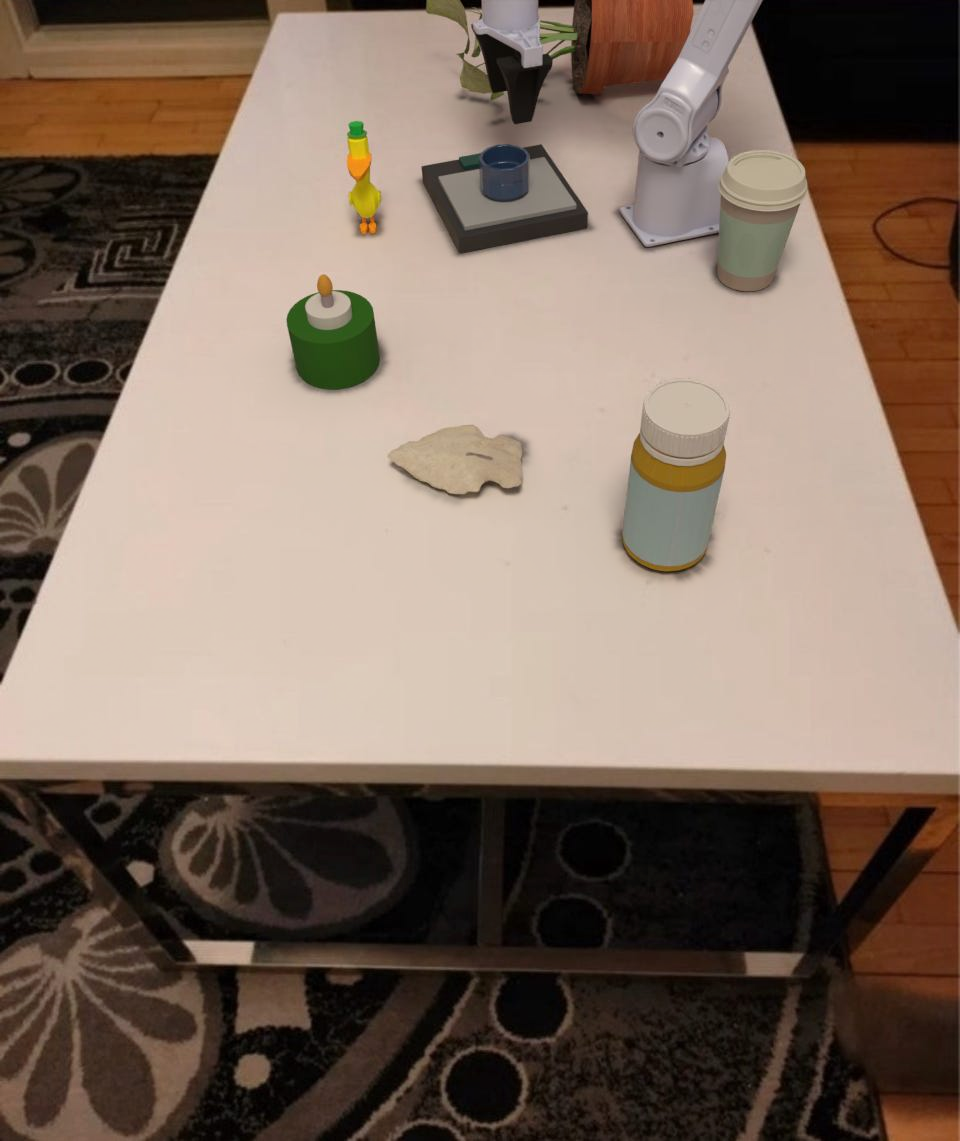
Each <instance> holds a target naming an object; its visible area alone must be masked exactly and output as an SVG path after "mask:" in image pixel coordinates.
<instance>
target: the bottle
mask: <svg viewBox="0 0 960 1141" xmlns="http://www.w3.org/2000/svg"><path fill="white" fill-rule="evenodd" d="M730 417H731V406H730V402H729V400H728V398H727V397H726V395H725V394H724V393H723V392H722V391H721V390H720V389H718V388H717V387H716V386H714V385H713V384H711V383H708V382H706V381H703V380H700V379H694V378H689V377H688V378H687V377H686V378H684V377H683V378H671V379H667V380H663V381H662V382H659V383H657V384H656V385H654V386H652V387H651V389H649V390H648V392H647V393H646V395H645V397H644V399H643V403H642V410H641V418H640V428H639V429H640V430H639V433H638V434H637V436H636V438H635V439H634V441H633V444H632V448H631V454H630V461H629V471H628V480H627V486H626V495H625V497H626V498H625V504H624V514H623V522H622V532H621V533H622V535H621V536H622V537H621V538H622V543H623V547H624V549H625V550H626V552H627V553H628V555H629V556H630V557H631V558H632V559H633V560H635V561H636V562H637V563H638V564H640V565H642V566H644V567H646V568H649V569H651V570H654V571H659V572H676V571H677V572H678V571H682V570H684V569H685V570H686V569H687V568H690V567H692V566H694V565H695V564H697V563H698V562H699V561H701V560H702V558H703V557H704V555H705V554H706V552H707V550H708V546H709V544H710V543H709V542H710V538H711V533H712V530H713V529H712V528H713V525H714V520H715V515H716V510H717V505H718V501H719V497H720V493H721V489H722V488H721V487H722V482H723V478H724V474H725V469H726V463H727V462H726V460H727V451H726V448H725V440H726V435H727V431H728V427H729V421H730Z"/></svg>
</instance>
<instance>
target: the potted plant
mask: <svg viewBox="0 0 960 1141" xmlns="http://www.w3.org/2000/svg"><path fill="white" fill-rule="evenodd" d="M425 5H426V6H425V12H426V14H428V15H433V16H439V17H443V18H446V19H449V20H451V21H453V22H456V23H457V24H459V26H460V27H461V28H462V29H463V30H464V31H465V34H466V36H467V42H466V46H465V49H464V51H463V52H460V53H455V55H456V56H458V57H459V58H460V59H461V60H462V70H461V71H460V72H461V73H460V75H459V81H460V86H461V88H463V89H466V90H468V91H469V92H472V93H479V94H480V93H481V94H490V98H489V99H490V101H494V100H496V99H498V98H501V97H503V96H505V91H504V92H498V93H493V92H492V91H491V88H490V84H489V80H488V76H487V72H484V71H483V70H481V69H480V68H479V67H480V66H483V65H485V62H483V63H480V64H478V65H476V66H475V65H473V64H472V63H471V62H468V61H467V60H466V59H465V55H468V54H469V51H470V46H471V41H470V40H471V39H470V35H469V28H468V19H467V13H466V12H467V11H468V12H471V13H473V14H478V15H479V18H478V20H480V19H482V11H480V10H479V9H478V8H477V7H474V6H471V8H472V9H475V10H476V11H473V10H468V9H465V6H464V5H463V3H462V1H461V0H426V4H425ZM573 6H574V7H573V14H572V24H571V25H570V24H563V23H560V22H556V21H550V20H542V19H540V30H546V31H551V32H546V33H545V32H543V33H540V43H541V45H542V46H543V45H546V44H549V43H553V42H557V41H558V43H556V44H555V45H554V46H553V47H551V48H550V50H548V51H547V52H546V53H545V54H547V53H548V54H549V55H550V57H551V58H552V59H553V60H555V59H557V58H559V57H561V56H564V55H567V54H570V56H571V57H570V59H571V60H570V61H571V76H572V82H573V88H574V90H575V93H576V94H582V95H583V94H585V95H586V94H590V95H591V94H593V95H596V94H597V95H598V94H599V95H600V94H601V93H602V91H603V90H604V88H605V87H612V86H613V87H614V86H620V85H631V84H637V83H645V82H654V81H655V82H656V81H661V80H663V81H664V79H665V78H666V76H667V75H668V73H669V72H670V70H671V68H672V67H673V65H674V64H675V62H676V60H677V59H678V57H679V55H680V53H681V51H682V49H683V47H684V44H685V42H686V40H687V38H688V36H689V34H690V32H691V30H692V23H693V20H694V19H693V18H694V13H695V11H694V1H693V0H574V5H573ZM472 24H473V22H472V23H471V24H470V26H472ZM565 41H571V44H570V45H569V46H565V47H563V48H561V49H559V50H557V51H555V52H553V53H552V51H554V50H555V49H556V48H557V47H559V46H560V45H561V44H562V43H564V42H565ZM516 51H517V50H516ZM481 53H482V51H481V48H480V45H479V43H478V40H477V38H476V36H475V35H474V46H473V51H472V53H471V55H470V57H471V58H478V57H479V56H480V54H481ZM550 53H552V54H550Z"/></svg>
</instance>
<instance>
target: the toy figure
mask: <svg viewBox="0 0 960 1141" xmlns="http://www.w3.org/2000/svg"><path fill="white" fill-rule="evenodd" d="M364 124H365V123H364V122H363V121H360V120H355V121H350V122H349V123H348V128H349V131H348V132H347V133H346V136H347V137H346V140H347V147H348V154H347V156H346V166H347V167H346V168H347V170H348V173H349V176H350V177H351V178H352V179H353V180H354V181H355V182H356V183H355V185H354V186H353V188H352V190H350V191H349V192H348V202H349V206H350V207H351V206H352V207H353V208H354V210H355V212H356V213H357V214H359V216H360V217H361V223H360V224H359V232H360V234H361V235H366V234H367V233H368V232H369V233H370V235H375V234H376V233H377V231H378V228H377V224H376V222H375V217H374V215H375V214H376V212H377V210H378V209H379V206H380V205H381V203H382V193H381V190H380V189H379V190H378V188H376V186H375V185H374V184H373V183H372V182H371V167H372V166H371V165H372V157H373V156H372V155H373V154H372V153H371V152H370V146H369V138H368V132H367V130H365V129H364ZM366 219H370V222H369V223H368V222H367V221H366Z"/></svg>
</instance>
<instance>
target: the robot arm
mask: <svg viewBox="0 0 960 1141" xmlns="http://www.w3.org/2000/svg"><path fill="white" fill-rule="evenodd" d="M763 1H764V0H704V2H703V4H702V7H701V8H700V11H699V13H698V15H697V17H696V19H695V21H694V23H693V26H692V27H691V30H690V34H689V36H688V38H687V40H686V42H685V44H684V47H683V49H682V51H681V53H680V55H679V57H678V59H677V60H676V62H675V64H674V65H673V67H672V68H671V70H670V72H669V73H668V75H667V76H666V78H665V79H663V81H662V82H661V84H660V86H659V88H658V90H657V93H656V94H655V95H654V96H653V98H651V99H650V101H649V102H647V103H646V104H644V105H643V106H642V107H641V108H640V109H639V110H638V111H637V113H636V115H635V117H634V120H633V123H632V136H633V140H634V142H635V145H636V147H637V149H638V157H637V158H638V159H637V170H636V178H635V179H636V180H635V189H634V190H635V191H634V202H633V203H632V204H628V205H623V206H621V207H619V213H620V215H621V216H622V218H623V219H624V220H625V222H626V223H627V224H628V226H629V227H630V228H631V230H632V231H633V232H634V234H635V235H636V237H637V238H638V240H639V241H640V242H641V243H642V245H643V246H644V247H646V248H650V247H655V246H660V245H664V244H665V245H666V244H670V243H675V242H680V241H684V240H690V239H694V238H700V237H704V236H709V235H713V234H719V222H720V200H721V193H720V191H719V188H718V183H719V180H720V177H721V174H722V172H723V171H724V170H725V169H726V167H727V164H728V162H729V161H730V160H729V159H730V158H729V154H728V150H727V149H726V148H727V147H726V146H725V144H724V143H723V141H722V140H721V139H719V137H718V138H717V137H709V134H708V125H709V124H710V122H712V121H713V119H715V117H717V114H718V113H719V111H720V109H721V105H722V99H723V98H722V97H723V96H722V92H723V91H722V90H723V86H724V83H725V80H726V78H727V77H728V75H729V72H730V70H729V66H730V64H731V62H732V60H733V58H734V56H735V55H736V52H737V51H738V49H739V47H740V45H741V43H742V41H743V39H744V37H745V35H746V34H747V31H748V30H749V27H750V26H751V24H752V22H753V21H754V18H755V16H756V14H757V12H758V10H759V8H760V6H761V4H762V3H763ZM481 13H482V19H480V20H479V19H477V20H473V21H472V23H473V24H472V23H471V24H472V26H471V25H470V26H471V29H472V32H473V34H474V37H475V36H476V38H477V40H478V43H479V46H480V49H481V54H482V58H483V61H484V62H483V63H485V64H484V65H485V71H486V74H487V76H488V80H489V84H490V88H491V91H492V92H493V93H498V92H504V93H505V92H507V100H508V107H509V113H510V118H511V121H512V123H513V124H514V125H521V124H526V123H531V122H532V121H533V119H534V115H535V112H536V107H537V103H538V100H539V95H540V92H541V89H542V87H543V85H544V82H545V79H546V78H547V76H548V74H549V73H550V71H551V70H552V68H553V64H554V63H553V62H554V59H552V58H551V57H550V55H551V54H550V53H549V54H548V53H547V52H546V53H547V54H546V53H544V52H543V51H544V50H543V48H544V45H543V44H542V45H541V43H540V39H541V38H540V34H541V29H540V24H541V22H540V20H541V17H540V14H539V0H481ZM516 50H517V51H516Z"/></svg>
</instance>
